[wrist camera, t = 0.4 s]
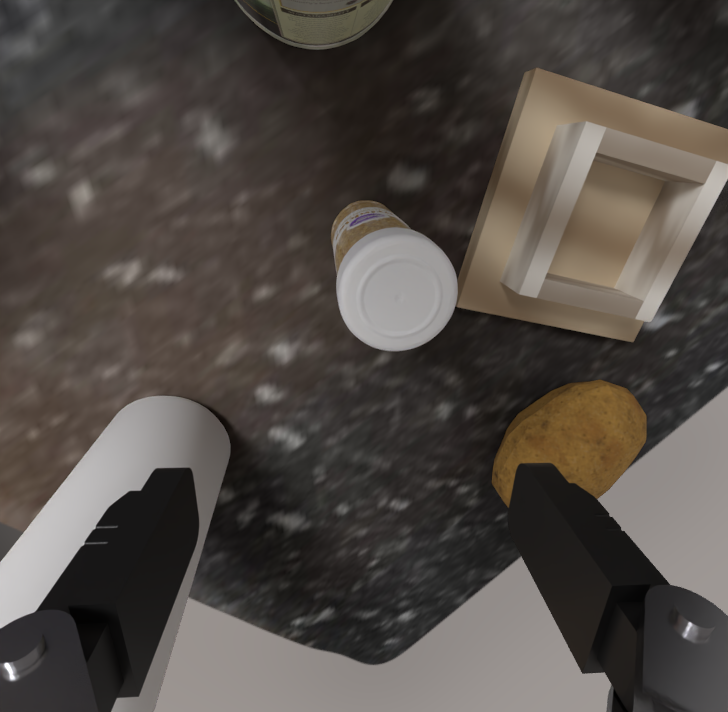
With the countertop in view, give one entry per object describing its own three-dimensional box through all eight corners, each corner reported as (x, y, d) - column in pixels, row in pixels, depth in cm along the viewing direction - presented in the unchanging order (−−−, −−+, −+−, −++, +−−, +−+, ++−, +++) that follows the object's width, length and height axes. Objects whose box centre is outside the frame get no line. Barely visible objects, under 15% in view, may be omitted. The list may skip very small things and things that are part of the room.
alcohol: (86, 427, 32) (-1298, 2038, 5) (179, 368, 30) (-983, 2129, 3) (169, 499, 35) (-327, 1639, 8) (255, 449, 34) (6, 1605, 7)
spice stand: (524, 72, 24) (565, 55, 20) (721, 135, 27) (793, 131, 23) (450, 300, 30) (471, 322, 26) (620, 334, 33) (662, 359, 28)
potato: (453, 454, 36) (481, 516, 30) (559, 338, 32) (616, 381, 26) (528, 495, 39) (568, 560, 33) (633, 393, 35) (701, 444, 29)
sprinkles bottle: (376, 184, 26) (424, 208, 14) (411, 246, 28) (482, 314, 16) (315, 226, 27) (312, 282, 15) (354, 284, 29) (379, 375, 17)
